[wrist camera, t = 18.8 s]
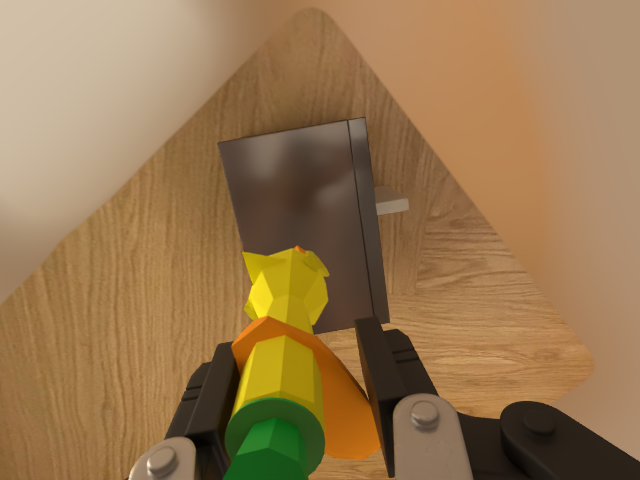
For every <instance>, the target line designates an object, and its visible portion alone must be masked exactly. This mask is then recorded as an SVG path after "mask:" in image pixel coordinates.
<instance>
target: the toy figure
mask: <svg viewBox="0 0 640 480" xmlns="http://www.w3.org/2000/svg"><path fill="white" fill-rule="evenodd" d="M241 252H242V255H243V258H244V261H245V264H246V267H247V270H248V273H249V275H250V278H251V281H252V284H253V285H252V289H251V292H250V295H249V298H248V300H247V302H246V304H245V306H244V310H245V312H246V313H247V314H248V315H249V317H250V318H251V319H252V321H253V322H252V323H251V324H250V325H248V326H247V327H246V328H245V329H244V331H243V332H242V333H241V334H240V335H239V337H238V338H237V339H236V340H235V341H234V342H233V344H232V346H231V348H232V351H233V354H234V358H236V363H237V367H238V370H239V373H240V377H241V379H240V383H239V387H238V391H237V395H236V399H235V403H234V407H233V411H232V415H231V419H230V421H229V423H228V426H227V429H226V432H225V447H226V451H227V454H228V456H229V458H230V460H231V462H232V463H231V465H230V467H229V469H228V471H227V472H226V474H225V476H224V478H223V480H308V476H309V475H310V474H311V473H312V472H313V471H315V470H316V468H317V467H318V465H319V464H320V463H321V460H322V458H323V455H324V453H325V454H327V455H329V456H332V457H334V458H342V459H356V460H364V459H365V458H367V457H368V456H370V455H371V454H373V453H374V452H376V451H377V450H379V449H380V448H381V444H380V440H379V437H378V433H377V429H376V425H375V421H374V417H373V413H372V409H371V405H370V402H369V400H368V398H367V395H366V393H365V391H364V390H363V389H362V388H361V386H360V385H359V384H358V382H357V381H356V380H355V379H354V377H353V376H352V375H351V373H350V372H349V371H348V370H347V368H346V367H345V366H344V364H343V363H342V362H341V360H340V359H339V358H338V357H337V356H336V355H335V354H334V353H333V352H332V351H331V350H330V349H329V348H328V347H327V346H326V345H325V344H324V343H323V342H322V341H321V340H320V339H319V338H318V337H317V336H315V335H314V334H313V330H312V326H311V325H314V324H315V323H316V321H317V319H318V318H319V316H320V314H321V312H322V311H323V309H324V307H325V305H326V304H327V302H328V295H327V288H326V283H325V280H324V277H328V276H329V272H328V270H327V268H326V267H325V266H324V264H323V263H322V262H321V260H320V259H319V258H318V257H317V256H316V255H315V254H314V252H312V251H305V250H304V249H302V248H301V247H299V246H298V245H297V246H296V247H295V248H294V249H293V248H291V249H288V250H285V251H282V252H279V253H276V254H273V255H269V256H264V255H259V254H253V253H248V252H243V251H241Z"/></svg>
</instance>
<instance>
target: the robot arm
mask: <svg viewBox="0 0 640 480" xmlns="http://www.w3.org/2000/svg"><path fill="white" fill-rule="evenodd" d="M354 323H355V330H356V336H357V343H358V349H359V355H360V362H361V367H362V372H363V377H364V382H365V386H366V389H367V393H368V397H369V401H370V405H371V409H372V413H373V417H374V421H375V425H376V429H377V433H378V437H379V440H380V444H381V448H382V452H383V456H384V460H385V464H386V468H387V472H388V476H389V478H393V477H395V480H640V462H639V461H638V460H636V459H635V458H633V457H631V456H630V455H628V454H627V453H625V452H624V451H622V450H620V449H619V448H618V447H616V446H614V445H613V444H611V443H609V442H608V441H607V440H605V439H603V438H602V437H600V436H599V435H597V434H596V433H594V432H593V431H591V430H589V429H588V428H586V427H585V426H583V425H582V424H580V423H579V422H577V421H575V420H574V419H572V418H571V417H569V416H568V415H566V414H564V413H563V412H561V411H559V410H558V409H556V408H554V407H552V406H549V405H546V404H543V403H539V402H533V401H520V402H515V403H512V404H510V405H508V406H507V407H506V408H505V409H504V410H503V411H502V413H501V416H500V419H492V418H481V417H473V416H468V415H465V414H462V413H459V412H457V411H456V410H455V409H454V407H453V406H452V405H451V404H450V403H449V402H448V401H446V400H445V399H443V398H441V397H439V395H438V393H437V391H436V389H435V387H434V385H433V383H432V381H431V379H430V377H429V376H428V374H427V372H426V370H425V368H424V366H423V364H422V362H421V360H420V359H419V356H418V354H417V352H416V350H415V349H414V347H413V345H412V343H411V341H410V339H409V337H408V336H406V335H405V334H404V333H402V332H401V331H399V330H398V329H393V330H387V331H383V329H382V327H381V324H380V322H379V319H378V317H377V316H373V317H368V318H362V319H357V320H354ZM233 342H234V341H232V342H227V343H221V344H218V346H217V348H216V351H215V354H214V356H213V359H212V362H207V363H203V364H202V365H201V366H200V367H199V368H198V369H197V370H196V371H195V372H194V373H193V375H192V376H191V378H190V380H189V383H188V385H187V387H186V391H185V392H184V394H183V397H182V399H181V402H180V404H179V406H178V408H177V411H176V413H175V415H174V418H173V420H172V422H171V425H170V427H169V429H168V432H167V434H166V436H165V438H164V440H163V441H161V442H159V443H157V444H156V445H154V446H152V447H151V448H150V449H148V450H147V451H146V452H145V453H144V454H143V455H142V456H141V457H140V458H139V459H138V460H137V462H136V463H135V465H134V466H133V468H132V470H131V473H130V476H129V478H127V479H125V480H223V478H224V476H225V474H226V472H227V471H228V469H229V467H230V465H231V463H232V462H231V460H230V458H229V456H228V454H227V451H226V447H225V432H226V429H227V426H228V423H229V421H230V419H231V415H232V411H233V407H234V403H235V399H236V395H237V391H238V387H239V383H240V379H241V377H240V373H239V370H238V367H237V363H236V358H234V354H233V351H232V348H231V346H232V344H233Z"/></svg>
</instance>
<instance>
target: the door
mask: <svg viewBox="0 0 640 480" xmlns="http://www.w3.org/2000/svg"><path fill="white" fill-rule="evenodd" d="M374 193H375V201H376V210H377V216H378V215H384V214H390V213H395V212H401V211H407V210H409V205H408V198H407V197H405V196H404V195H402V194H401V193H399V192H398V191H396V190H395V189H393V188H392V187H390V186H389V185H383V186H378V187H374Z"/></svg>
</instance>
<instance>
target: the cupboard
mask: <svg viewBox="0 0 640 480" xmlns="http://www.w3.org/2000/svg"><path fill="white" fill-rule="evenodd" d="M217 144H218V149H219V153H220V157H221V161H222V165H223V169H224V173H225V177H226V181H227V185H228V189H229V193H230V197H231V201H232V205H233V210H234V214H235V218H236V222H237V226H238V230H239V234H240V238H241V242H242V246H243V250H244V252H248V253H253V254H259V255H264V256H269V255H273V254H276V253H279V252H282V251H285V250H288V249H291V248H293V249H294V248H295V247H296V246H297V245H298V246H299V247H301V248H302V249H304V250H305V251H312V252H314V254H315V255H316V256H317V257H318V258H319V259H320V260H321V262H322V263H323V264H324V266H325V267H326V268H327V270H328V272H329V276H328V277H324V280H325V283H326V288H327V295H328V302H327V304H326V305H325V307H324V309H323V311H322V312H321V314H320V316H319V318H318V319H317V321H316V323H315V324H314V325H311V326H312V330H313V334H314V335H315V334H321V333H326V332H332V331H337V330H343V329H349V328H354V327H355V323H354V320H357V319H362V318H368V317H373V316H377V317H378V319H379V322H380V324H385V323H390V318H389V309H388V301H387V293H386V284H385V276H384V268H383V260H382V251H381V243H380V235H379V226H378V218H377V210H376V201H375V193H374V185H373V177H372V168H371V160H370V152H369V143H368V135H367V127H366V118H365V117H361V118H356V119H350V120H341V121H335V122H329V123H323V124H318V125H312V126H306V127H301V128H295V129H289V130H283V131H278V132H272V133H266V134H260V135H255V136H249V137H243V138H238V139H233V140H228V141H223V142H218V143H217ZM250 279H251V278H250ZM251 283H252V281H251ZM252 285H253V284H252Z"/></svg>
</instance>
